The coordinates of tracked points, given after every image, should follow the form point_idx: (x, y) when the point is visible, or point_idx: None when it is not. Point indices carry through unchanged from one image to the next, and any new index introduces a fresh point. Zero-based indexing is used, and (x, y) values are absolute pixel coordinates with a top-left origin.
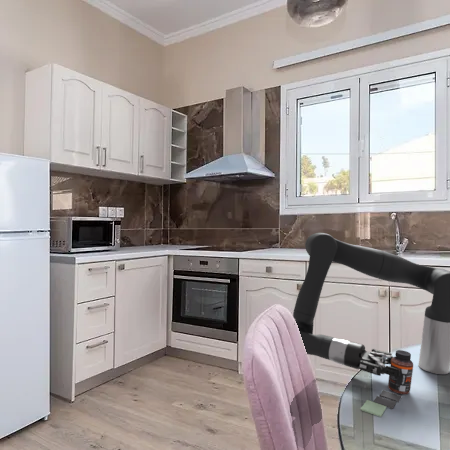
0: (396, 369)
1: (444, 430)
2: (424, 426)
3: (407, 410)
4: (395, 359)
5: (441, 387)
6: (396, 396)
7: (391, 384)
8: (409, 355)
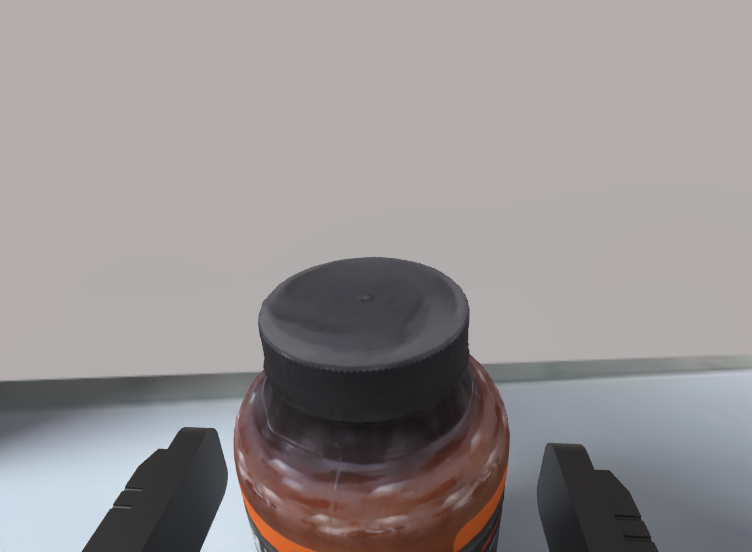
0: (592, 469)
1: (667, 359)
2: (749, 417)
3: (679, 508)
4: (450, 447)
5: (170, 387)
6: None
7: None
8: (410, 262)
